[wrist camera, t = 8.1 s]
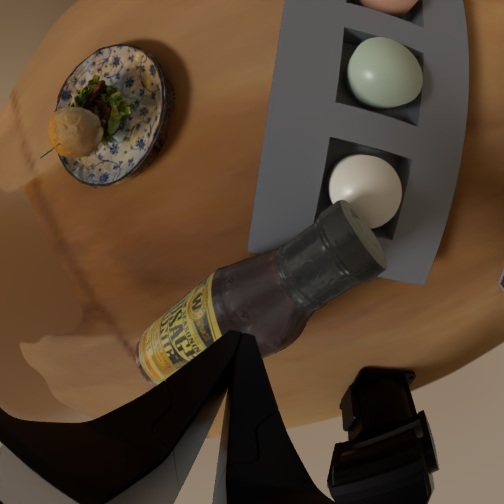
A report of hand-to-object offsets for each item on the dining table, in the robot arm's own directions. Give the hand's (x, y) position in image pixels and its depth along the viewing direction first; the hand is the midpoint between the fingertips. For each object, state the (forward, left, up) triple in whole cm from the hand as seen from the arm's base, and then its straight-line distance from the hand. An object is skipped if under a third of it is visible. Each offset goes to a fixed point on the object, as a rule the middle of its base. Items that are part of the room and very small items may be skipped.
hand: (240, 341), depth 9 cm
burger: (+14, -8, -12) cm, 20 cm away
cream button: (-5, -5, -11) cm, 12 cm away
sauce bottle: (+7, +13, -8) cm, 17 cm away
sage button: (-5, -12, -10) cm, 16 cm away
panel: (-5, -12, -12) cm, 17 cm away
